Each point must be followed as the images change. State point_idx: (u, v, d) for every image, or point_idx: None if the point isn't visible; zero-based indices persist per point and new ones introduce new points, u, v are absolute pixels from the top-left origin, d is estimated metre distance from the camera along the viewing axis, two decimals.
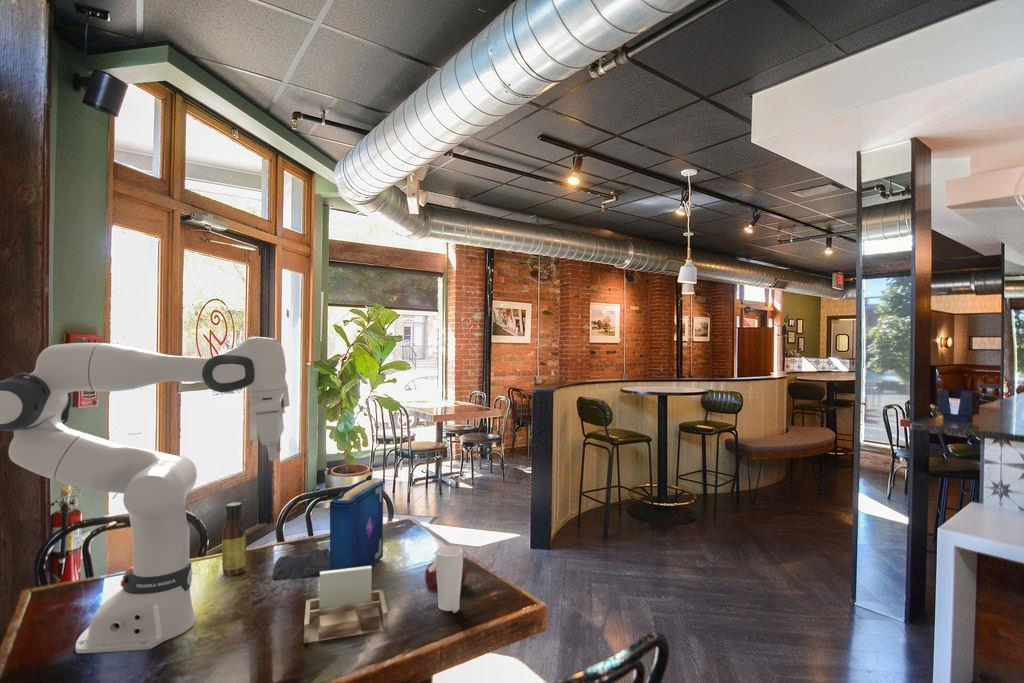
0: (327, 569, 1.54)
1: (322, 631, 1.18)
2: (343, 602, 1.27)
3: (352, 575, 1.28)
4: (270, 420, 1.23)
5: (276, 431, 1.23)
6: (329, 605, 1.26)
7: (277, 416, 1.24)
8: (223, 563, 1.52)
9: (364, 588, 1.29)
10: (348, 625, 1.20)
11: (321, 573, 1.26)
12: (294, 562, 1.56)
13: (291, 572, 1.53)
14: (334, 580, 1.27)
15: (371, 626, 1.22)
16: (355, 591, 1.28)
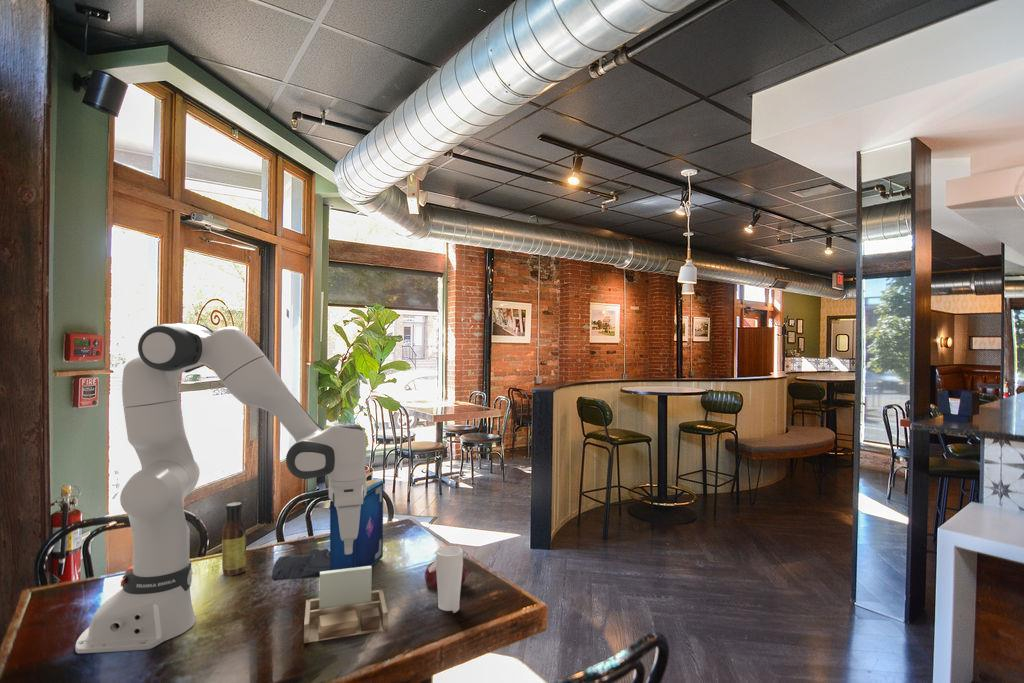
0: (326, 569, 1.54)
1: (322, 631, 1.18)
2: (343, 602, 1.27)
3: (352, 575, 1.28)
4: (352, 515, 1.20)
5: (357, 527, 1.20)
6: (329, 605, 1.26)
7: (359, 511, 1.21)
8: (223, 563, 1.52)
9: (364, 588, 1.29)
10: (348, 625, 1.20)
11: (321, 573, 1.26)
12: (294, 562, 1.56)
13: (290, 572, 1.52)
14: (334, 580, 1.27)
15: (371, 626, 1.22)
16: (355, 591, 1.28)
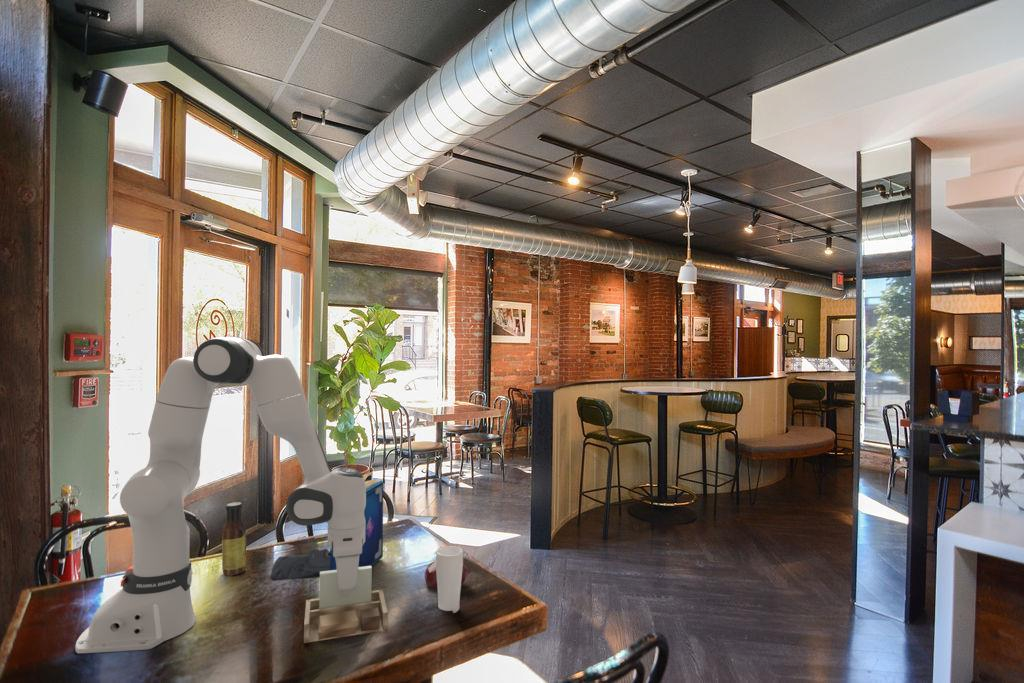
0: (325, 569, 1.54)
1: (322, 631, 1.18)
2: (343, 602, 1.27)
3: None
4: (350, 565, 1.20)
5: (355, 577, 1.20)
6: (329, 605, 1.26)
7: (357, 561, 1.21)
8: (223, 563, 1.52)
9: (364, 588, 1.29)
10: (348, 625, 1.20)
11: (321, 573, 1.26)
12: (293, 562, 1.56)
13: (289, 572, 1.52)
14: (334, 580, 1.27)
15: (371, 626, 1.22)
16: (355, 591, 1.28)
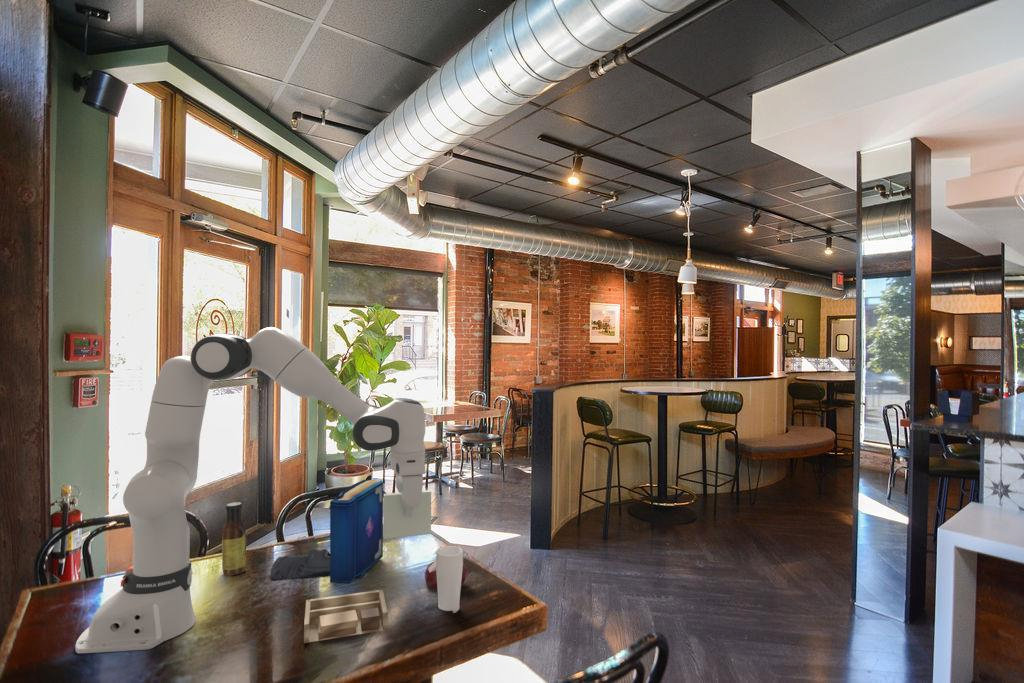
0: (325, 569, 1.54)
1: (322, 631, 1.18)
2: (405, 523, 1.36)
3: None
4: (415, 483, 1.28)
5: (420, 495, 1.28)
6: (393, 525, 1.35)
7: (422, 480, 1.29)
8: (223, 563, 1.52)
9: (424, 510, 1.37)
10: (348, 625, 1.20)
11: (385, 494, 1.35)
12: (292, 562, 1.56)
13: (289, 573, 1.52)
14: (397, 501, 1.35)
15: (371, 626, 1.22)
16: (416, 513, 1.37)
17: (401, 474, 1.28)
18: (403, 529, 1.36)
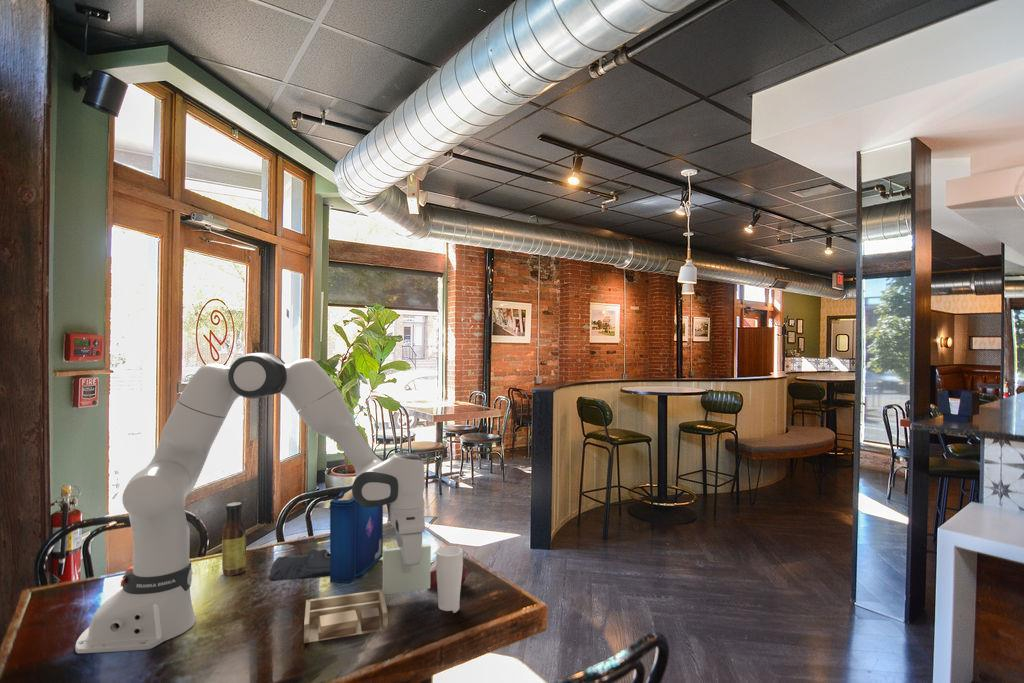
0: (324, 569, 1.54)
1: (322, 631, 1.18)
2: (405, 578, 1.36)
3: None
4: (415, 542, 1.28)
5: (420, 553, 1.28)
6: (392, 580, 1.35)
7: (421, 538, 1.29)
8: (223, 563, 1.52)
9: (423, 564, 1.37)
10: (348, 625, 1.20)
11: (385, 550, 1.35)
12: (292, 562, 1.56)
13: (288, 573, 1.52)
14: (397, 557, 1.35)
15: (371, 626, 1.22)
16: (416, 567, 1.37)
17: (400, 533, 1.28)
18: (403, 584, 1.35)
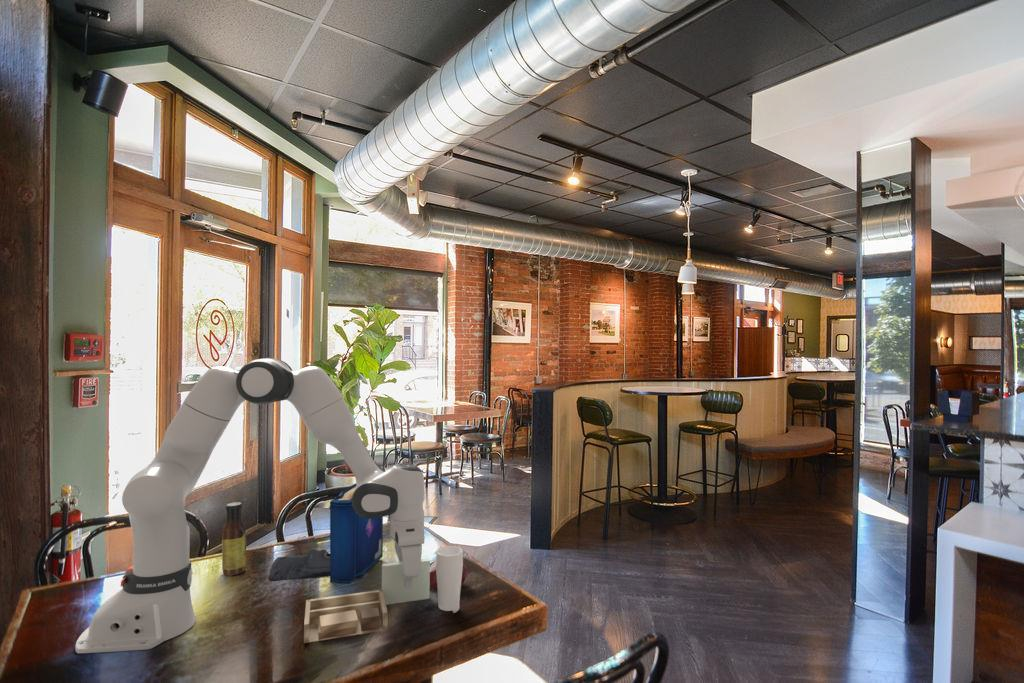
0: (324, 569, 1.54)
1: (322, 631, 1.18)
2: (404, 593, 1.36)
3: None
4: (414, 554, 1.28)
5: (419, 565, 1.28)
6: (391, 595, 1.34)
7: (421, 550, 1.29)
8: (223, 563, 1.52)
9: (423, 579, 1.37)
10: (348, 625, 1.20)
11: (384, 565, 1.35)
12: (291, 563, 1.55)
13: (288, 573, 1.52)
14: (396, 572, 1.35)
15: (371, 626, 1.22)
16: (415, 582, 1.36)
17: (400, 545, 1.28)
18: (401, 599, 1.35)
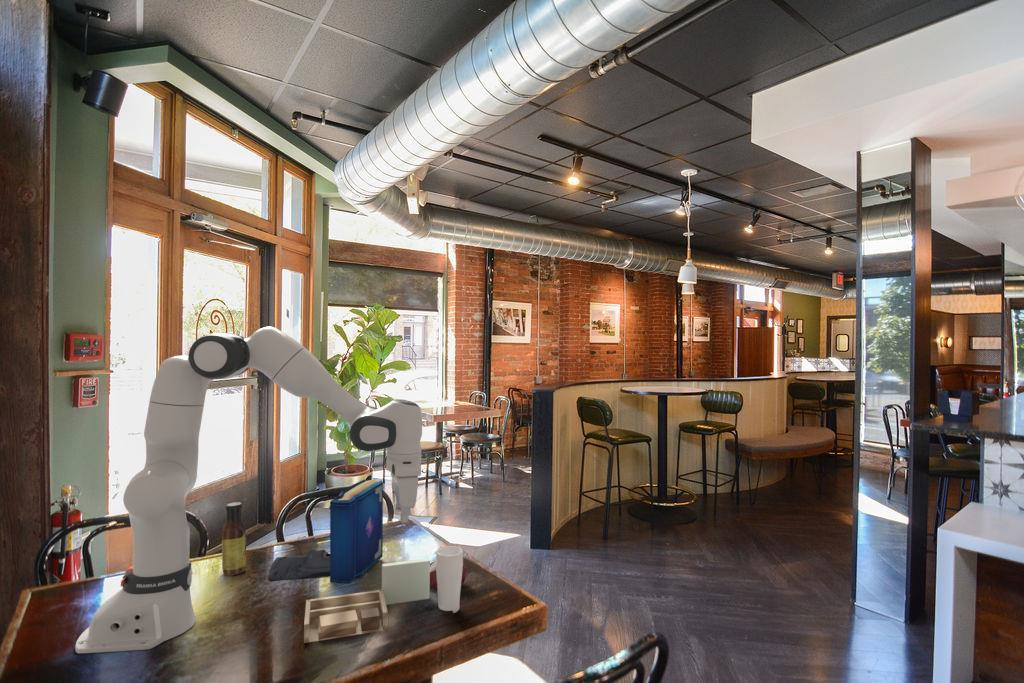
0: (323, 570, 1.54)
1: (322, 631, 1.18)
2: (404, 593, 1.36)
3: (412, 567, 1.36)
4: (411, 485, 1.28)
5: (415, 496, 1.28)
6: (391, 595, 1.34)
7: (417, 482, 1.29)
8: (223, 563, 1.52)
9: (423, 579, 1.37)
10: (348, 625, 1.20)
11: (384, 565, 1.34)
12: (290, 563, 1.55)
13: (287, 573, 1.52)
14: (396, 572, 1.35)
15: (371, 626, 1.22)
16: (415, 582, 1.36)
17: (397, 475, 1.28)
18: (402, 599, 1.35)
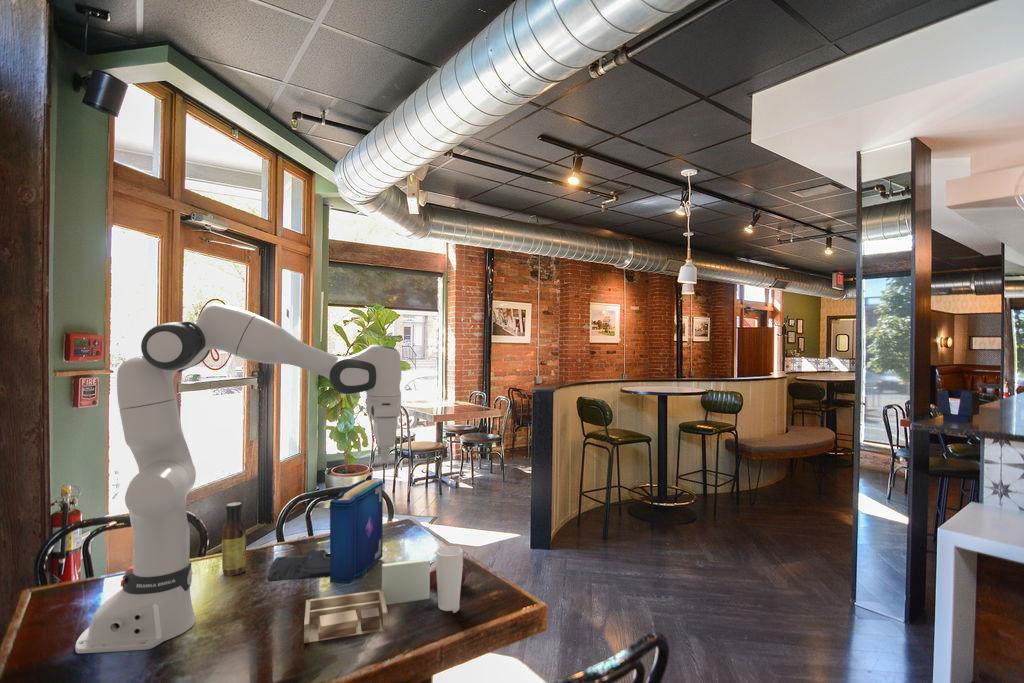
0: (322, 570, 1.53)
1: (322, 631, 1.18)
2: (404, 593, 1.36)
3: (412, 567, 1.36)
4: (390, 425, 1.30)
5: (394, 436, 1.30)
6: (391, 595, 1.34)
7: (396, 422, 1.31)
8: (223, 563, 1.52)
9: (423, 579, 1.37)
10: (348, 625, 1.20)
11: (384, 565, 1.35)
12: (290, 563, 1.55)
13: (286, 573, 1.52)
14: (396, 572, 1.35)
15: (371, 626, 1.22)
16: (415, 582, 1.36)
17: (375, 415, 1.30)
18: (402, 599, 1.35)
